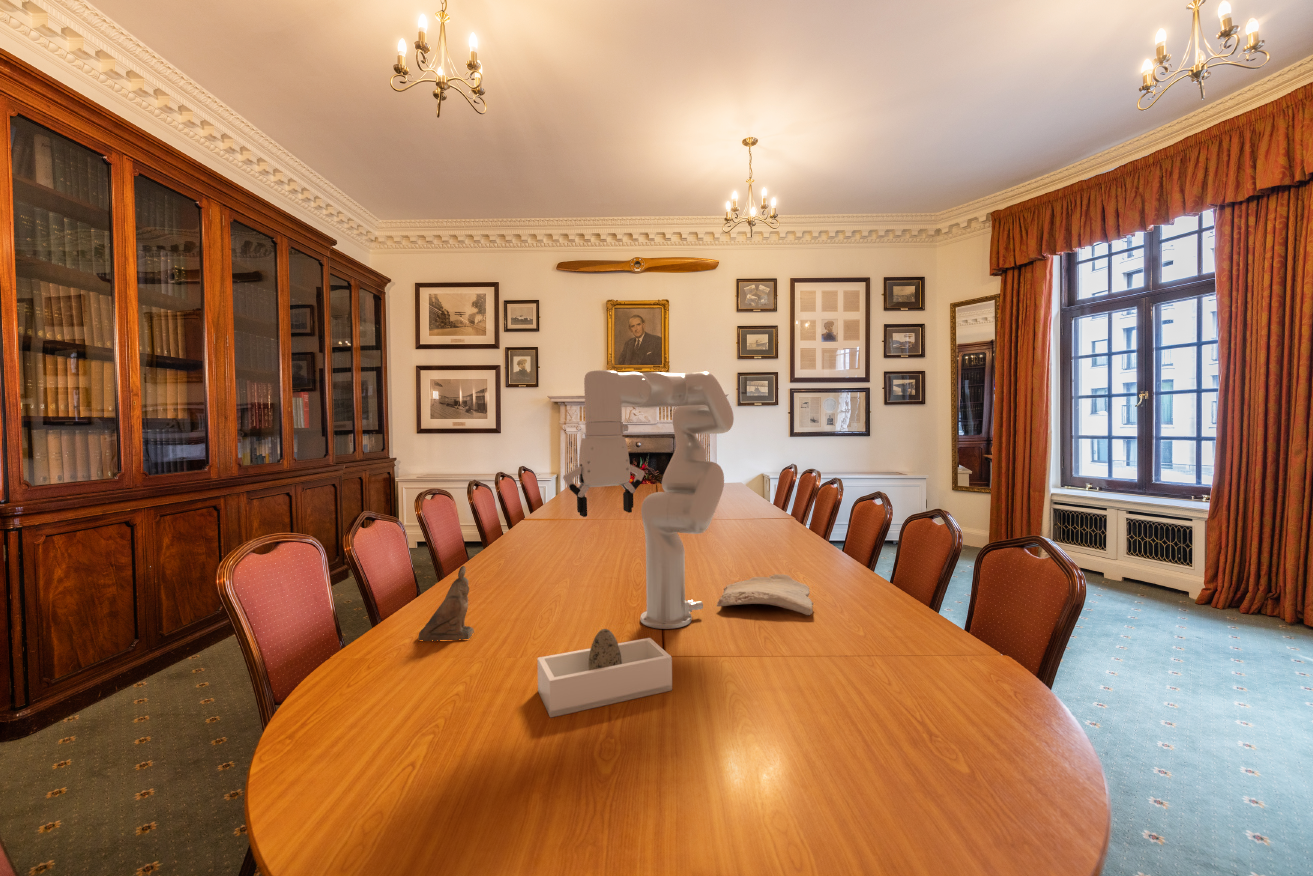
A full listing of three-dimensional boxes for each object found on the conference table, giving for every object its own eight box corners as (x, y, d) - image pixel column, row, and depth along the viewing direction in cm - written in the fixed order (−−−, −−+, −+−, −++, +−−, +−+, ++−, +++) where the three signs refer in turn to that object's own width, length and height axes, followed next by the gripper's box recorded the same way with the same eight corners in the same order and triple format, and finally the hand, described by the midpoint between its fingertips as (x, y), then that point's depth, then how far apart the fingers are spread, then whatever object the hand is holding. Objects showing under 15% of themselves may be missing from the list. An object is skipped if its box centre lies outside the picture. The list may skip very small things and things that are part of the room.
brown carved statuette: (474, 643, 125) (489, 568, 125) (464, 653, 120) (480, 574, 120) (425, 633, 126) (440, 557, 126) (413, 641, 120) (429, 563, 120)
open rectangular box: (650, 668, 105) (649, 637, 105) (672, 690, 96) (671, 656, 96) (538, 691, 96) (537, 657, 96) (550, 717, 87) (549, 681, 87)
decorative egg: (622, 676, 99) (621, 623, 99) (621, 692, 93) (620, 635, 93) (590, 677, 99) (589, 623, 99) (587, 693, 93) (586, 635, 93)
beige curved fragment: (724, 595, 156) (715, 610, 137) (725, 569, 156) (716, 580, 137) (811, 603, 150) (814, 621, 131) (812, 576, 151) (815, 589, 131)
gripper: (635, 430, 117) (637, 507, 117) (557, 432, 110) (560, 515, 110) (649, 430, 110) (651, 512, 111) (567, 432, 103) (569, 520, 103)
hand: (605, 513), depth 110 cm, fingers open, 9 cm apart
